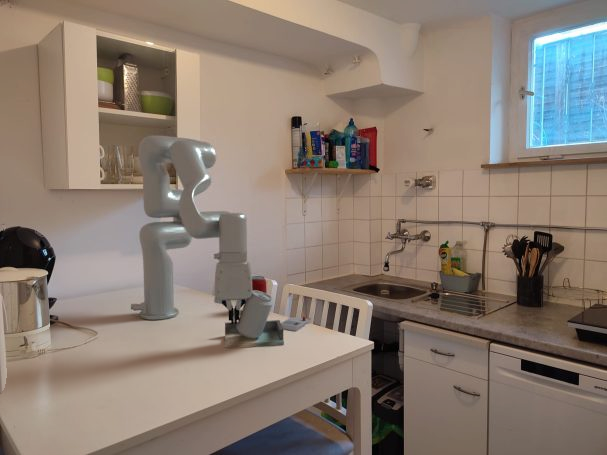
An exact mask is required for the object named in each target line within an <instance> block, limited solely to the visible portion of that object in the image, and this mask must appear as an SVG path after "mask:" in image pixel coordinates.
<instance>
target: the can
mask: <svg viewBox="0 0 607 455" xmlns="http://www.w3.org/2000/svg"><path fill="white" fill-rule="evenodd" d="M272 300H273V297H272V296H271V295H270V294H268V293H267V292H266V293H264V292H261V291H256V290H253V291H252V297H251V298H249V299H247V300H246V303H245V304H244V305H243V306H242V311H241V313H240V314H239V320H237V322H238V324H237V329H238V332H239V333H240V334H242V335H244V336H246V337H249V338H257V337H260V336H261V335H262V332H263V329H264V327H265V324H266V321H268V318H269V315H270V312H271V310H272V307H273V301H272Z"/></svg>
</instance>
